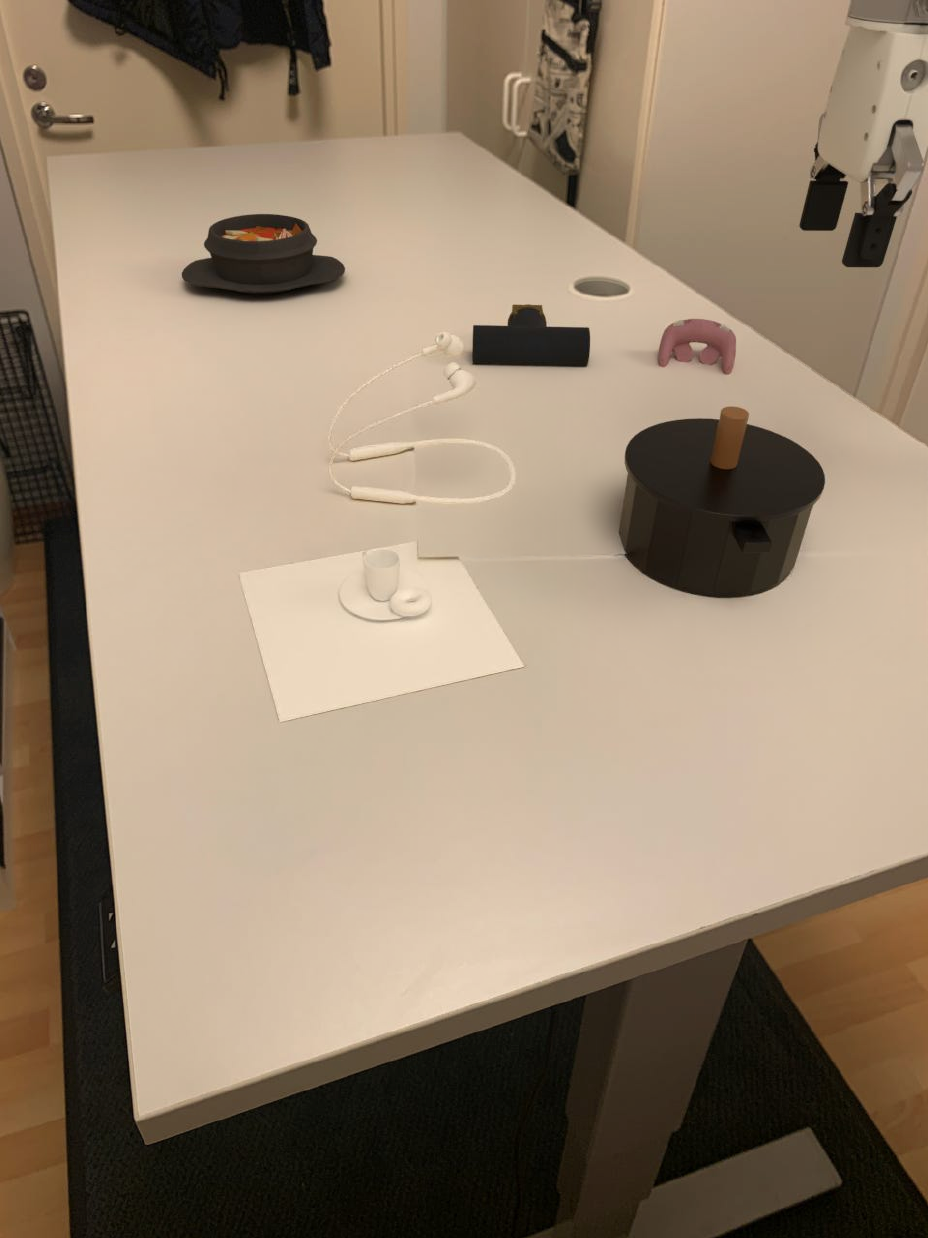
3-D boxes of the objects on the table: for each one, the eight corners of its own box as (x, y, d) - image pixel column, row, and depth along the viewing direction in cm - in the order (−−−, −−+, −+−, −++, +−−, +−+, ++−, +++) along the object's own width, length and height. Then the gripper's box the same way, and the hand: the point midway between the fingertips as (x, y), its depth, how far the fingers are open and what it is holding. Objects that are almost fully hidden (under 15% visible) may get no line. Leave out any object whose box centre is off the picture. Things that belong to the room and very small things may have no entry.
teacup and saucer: (444, 619, 78) (444, 581, 76) (354, 637, 76) (351, 599, 74) (414, 563, 85) (413, 526, 82) (330, 578, 83) (327, 541, 80)
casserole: (343, 261, 151) (339, 207, 146) (349, 301, 137) (345, 243, 132) (188, 265, 148) (179, 211, 143) (178, 307, 134) (167, 248, 128)
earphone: (312, 417, 99) (438, 308, 93) (412, 511, 108) (532, 417, 102) (312, 480, 88) (454, 362, 83) (422, 579, 98) (557, 479, 92)
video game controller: (729, 378, 122) (739, 324, 121) (732, 376, 118) (743, 320, 116) (655, 370, 124) (664, 316, 122) (655, 367, 119) (665, 312, 118)
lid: (783, 428, 91) (798, 369, 87) (853, 526, 77) (875, 461, 73) (607, 429, 90) (615, 370, 86) (646, 529, 76) (658, 464, 72)
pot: (753, 486, 97) (772, 413, 92) (830, 614, 80) (859, 534, 75) (600, 488, 96) (610, 414, 91) (645, 618, 79) (661, 537, 74)
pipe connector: (472, 298, 124) (582, 301, 124) (471, 336, 127) (578, 338, 128) (473, 333, 115) (591, 335, 116) (472, 372, 119) (586, 374, 119)
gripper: (1017, 19, 60) (927, 282, 70) (902, -7, 73) (841, 217, 84) (906, 16, 59) (833, 282, 70) (811, -9, 73) (762, 217, 83)
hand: (837, 246), depth 77 cm, fingers open, 9 cm apart
